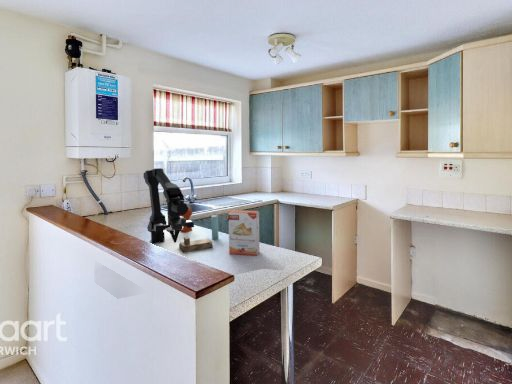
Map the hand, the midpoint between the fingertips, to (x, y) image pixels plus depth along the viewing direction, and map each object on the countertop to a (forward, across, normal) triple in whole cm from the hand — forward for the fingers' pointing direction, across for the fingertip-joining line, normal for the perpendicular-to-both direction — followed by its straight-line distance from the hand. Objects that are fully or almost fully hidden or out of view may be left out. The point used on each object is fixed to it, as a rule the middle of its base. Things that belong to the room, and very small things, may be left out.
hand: (175, 242), depth 162 cm
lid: (+2, +11, 0) cm, 11 cm away
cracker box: (+5, +29, -20) cm, 36 cm away
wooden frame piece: (+4, +10, 0) cm, 11 cm away
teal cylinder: (+4, +25, +11) cm, 28 cm away
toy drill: (+5, +11, +34) cm, 36 cm away
